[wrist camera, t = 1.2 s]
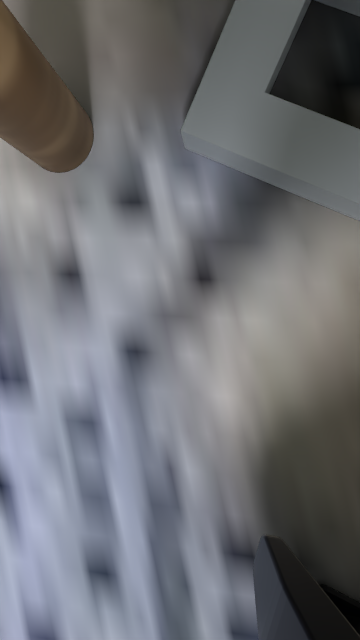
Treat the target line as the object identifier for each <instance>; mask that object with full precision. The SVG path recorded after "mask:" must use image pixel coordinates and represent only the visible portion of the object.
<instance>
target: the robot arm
mask: <svg viewBox="0 0 360 640" xmlns="http://www.w3.org/2000/svg"><path fill="white" fill-rule="evenodd" d="M253 577H254V590H255V602H256V614H257V626H258V638H259V640H360V603H359V602H357V601H355V600H353V599H351V598H349V597H347V596H345V595H343V594H341V593H339V592H337V591H335V590H334V589H332V588H330V587H328V586H326V585H323V584H318V583H317V582H316V581H315V579H314V578H313V577H312V576H311V574H310V573H309V572H308V571H307V569H306V568H305V567H304V566H303V564H302V563H301V562H300V561H299V559H298V558H297V557H296V556H295V554H294V553H293V552H292V551H291V550H290V548H289V547H288V546H287V545H286V543H285V542H284V541H283V540H282V539H281V538H280V537H277V536H271V535H263V536H262V537H261V539H260V543H259V546H258V550H257V553H256V557H255V561H254V566H253Z"/></svg>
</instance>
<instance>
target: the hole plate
mask: <svg viewBox="0 0 360 640" xmlns="http://www.w3.org/2000/svg"><path fill="white" fill-rule="evenodd" d="M315 1H318V2H320V3H323V4H326V5H329V6H332V7H334V8H337V9H340V10H343V11H346V12H348V13H351V14H354V15H357V16H359V17H360V0H315ZM310 2H311V0H235V3H234V5H233V7H232V10H231V12H230V14H229V17H228V19H227V22H226V24H225V26H224V29H223V31H222V33H221V36H220V38H219V41H218V43H217V45H216V48H215V50H214V52H213V55H212V57H211V59H210V62H209V64H208V67H207V69H206V71H205V74H204V76H203V78H202V81H201V83H200V86H199V88H198V90H197V93H196V95H195V97H194V100H193V102H192V105H191V107H190V109H189V112H188V114H187V116H186V119H185V121H184V124H183V126H182V128H181V135H182V139H183V143H184V146H185V149H187V150H189V151H192V152H194V153H197V154H199V155H202V156H204V157H206V158H209V159H211V160H214V161H216V162H218V163H221V164H223V165H226V166H228V167H230V168H233V169H235V170H238V171H240V172H243V173H245V174H247V175H250V176H252V177H255V178H257V179H259V180H262V181H264V182H267V183H269V184H271V185H274V186H276V187H279V188H281V189H284V190H286V191H288V192H291V193H293V194H296V195H298V196H300V197H303V198H305V199H308V200H310V201H312V202H315V203H317V204H320V205H322V206H325V207H327V208H329V209H332V210H334V211H337V212H339V213H341V214H344V215H346V216H349V217H351V218H353V219H356V220H358V221H360V129H358V128H355V127H352V126H350V125H347V124H345V123H342V122H340V121H337V120H334V119H332V118H329V117H327V116H324V115H322V114H319V113H316V112H314V111H311V110H309V109H306V108H304V107H301V106H299V105H296V104H293V103H291V102H288V101H286V100H283V99H281V98H278V97H275V96H273V95H270V92H271V89H272V87H273V85H274V83H275V80H276V78H277V76H278V74H279V71H280V69H281V67H282V65H283V63H284V60H285V58H286V56H287V54H288V51H289V49H290V47H291V45H292V42H293V40H294V38H295V36H296V33H297V31H298V29H299V27H300V25H301V22H302V20H303V18H304V16H305V13H306V11H307V9H308V7H309V4H310Z"/></svg>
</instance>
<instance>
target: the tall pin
mask: <svg viewBox="0 0 360 640" xmlns="http://www.w3.org/2000/svg"><path fill="white" fill-rule="evenodd" d="M0 138H2V139H3V140H4V141H6V142H7V143H9V144H10V145H12V146H13V147H14V148H16V149H17V150H19V151H20V152H21V153H23V154H24V155H26V156H27V157H28V158H30V159H31V160H33V161H34V162H35V163H37V164H38V165H40V166H41V167H42V168H44V169H46V170H48V171H51V172H57V173H62V172H68V171H70V170H73V169H75V168H76V167H78V166H79V165H80V164H81V163H82V162H83V161H84V160H85V159H86V158H87V156H88V154H89V152H90V150H91V147H92V144H93V127H92V123H91V120H90V118H89V116H88V115H87V113H86V112H85V110H84V109H83V108H82V106H81V105H80V104H79V102H78V101H77V100H76V98H75V97H74V96H73V94H72V93H71V92H70V90H69V89H68V88H67V86H66V85H65V84H64V82H63V81H62V80H61V78H60V77H59V76H58V74H57V73H56V72H55V70H54V69H53V68H52V66H51V65H50V64H49V62H48V61H47V60H46V58H45V57H44V56H43V54H42V53H41V52H40V50H39V49H38V48H37V46H36V45H35V44H34V42H33V41H32V40H31V38H30V37H29V36H28V34H27V33H26V32H25V30H24V29H23V28H22V26H21V25H20V24H19V22H18V21H17V20H16V18H15V17H14V16H13V14H12V13H11V12H10V10H9V9H8V8H7V6H6V5H5V4H4V2H3V1H2V0H0Z"/></svg>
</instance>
